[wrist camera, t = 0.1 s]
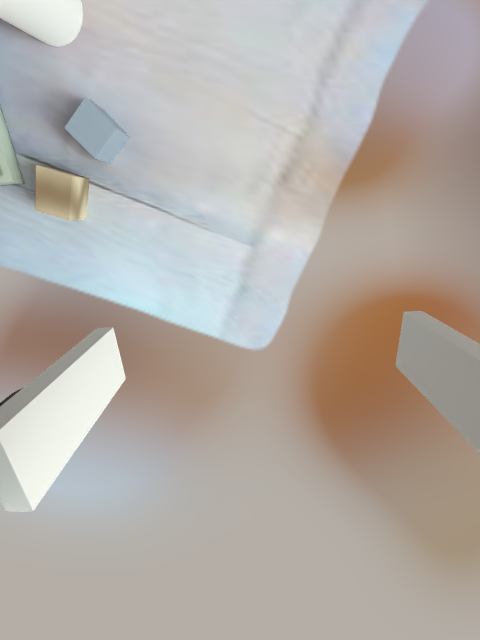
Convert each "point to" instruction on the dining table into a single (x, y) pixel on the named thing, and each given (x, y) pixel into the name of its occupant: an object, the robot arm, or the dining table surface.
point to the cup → (45, 19)
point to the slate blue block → (96, 131)
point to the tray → (8, 157)
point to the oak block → (61, 193)
